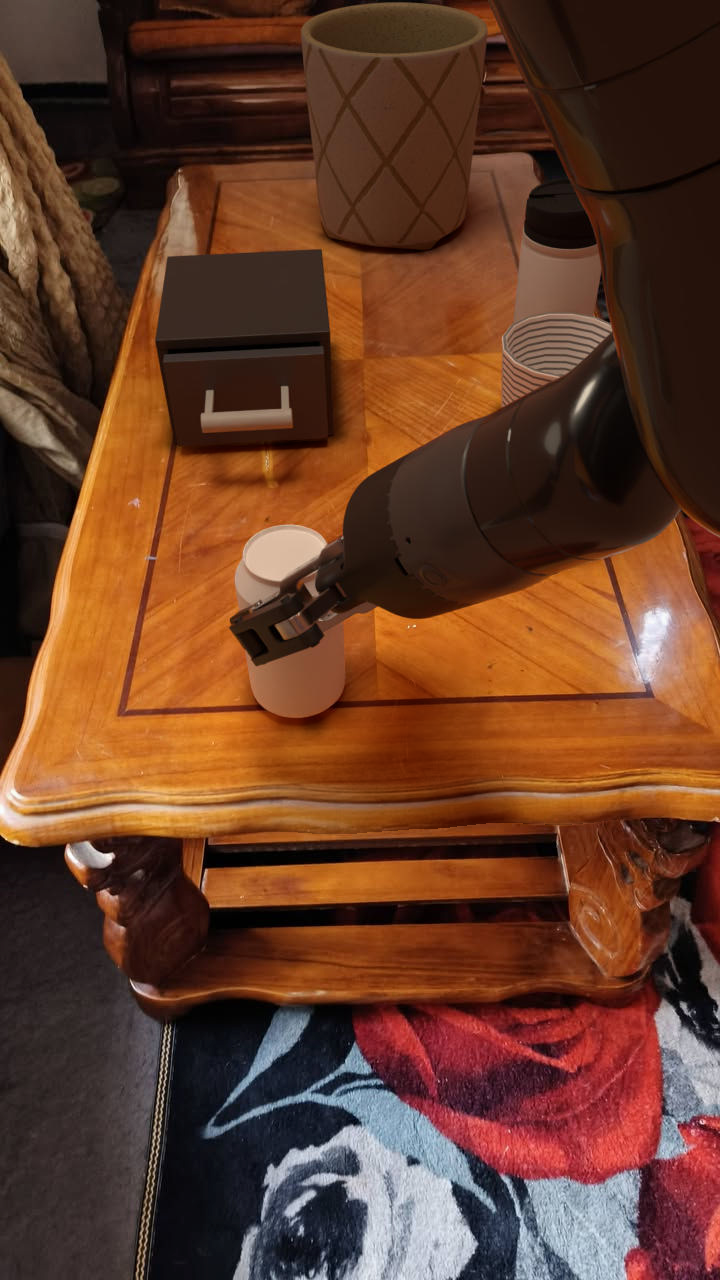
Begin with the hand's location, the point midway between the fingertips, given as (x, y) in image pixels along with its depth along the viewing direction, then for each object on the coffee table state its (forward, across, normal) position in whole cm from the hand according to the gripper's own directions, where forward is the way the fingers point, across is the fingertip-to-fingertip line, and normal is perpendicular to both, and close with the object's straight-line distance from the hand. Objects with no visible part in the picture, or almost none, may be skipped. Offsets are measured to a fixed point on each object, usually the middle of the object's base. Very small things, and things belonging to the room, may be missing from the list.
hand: (294, 591), depth 56 cm
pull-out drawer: (+23, -20, -12) cm, 33 cm away
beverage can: (+7, 0, +6) cm, 9 cm away
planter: (+36, -59, -23) cm, 73 cm away
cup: (+5, -24, +8) cm, 26 cm away
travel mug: (+10, -36, +3) cm, 38 cm away
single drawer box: (+26, -23, -13) cm, 38 cm away
